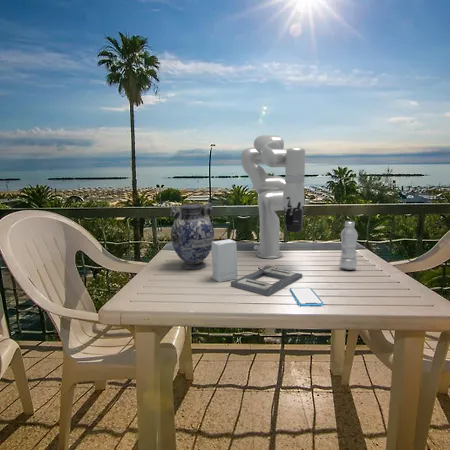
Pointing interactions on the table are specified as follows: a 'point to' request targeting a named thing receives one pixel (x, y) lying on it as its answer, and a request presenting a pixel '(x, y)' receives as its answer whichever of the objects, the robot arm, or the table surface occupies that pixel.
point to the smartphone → (306, 297)
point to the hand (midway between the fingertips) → (293, 223)
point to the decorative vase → (192, 233)
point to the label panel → (266, 288)
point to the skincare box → (224, 260)
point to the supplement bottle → (296, 220)
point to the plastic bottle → (348, 246)
